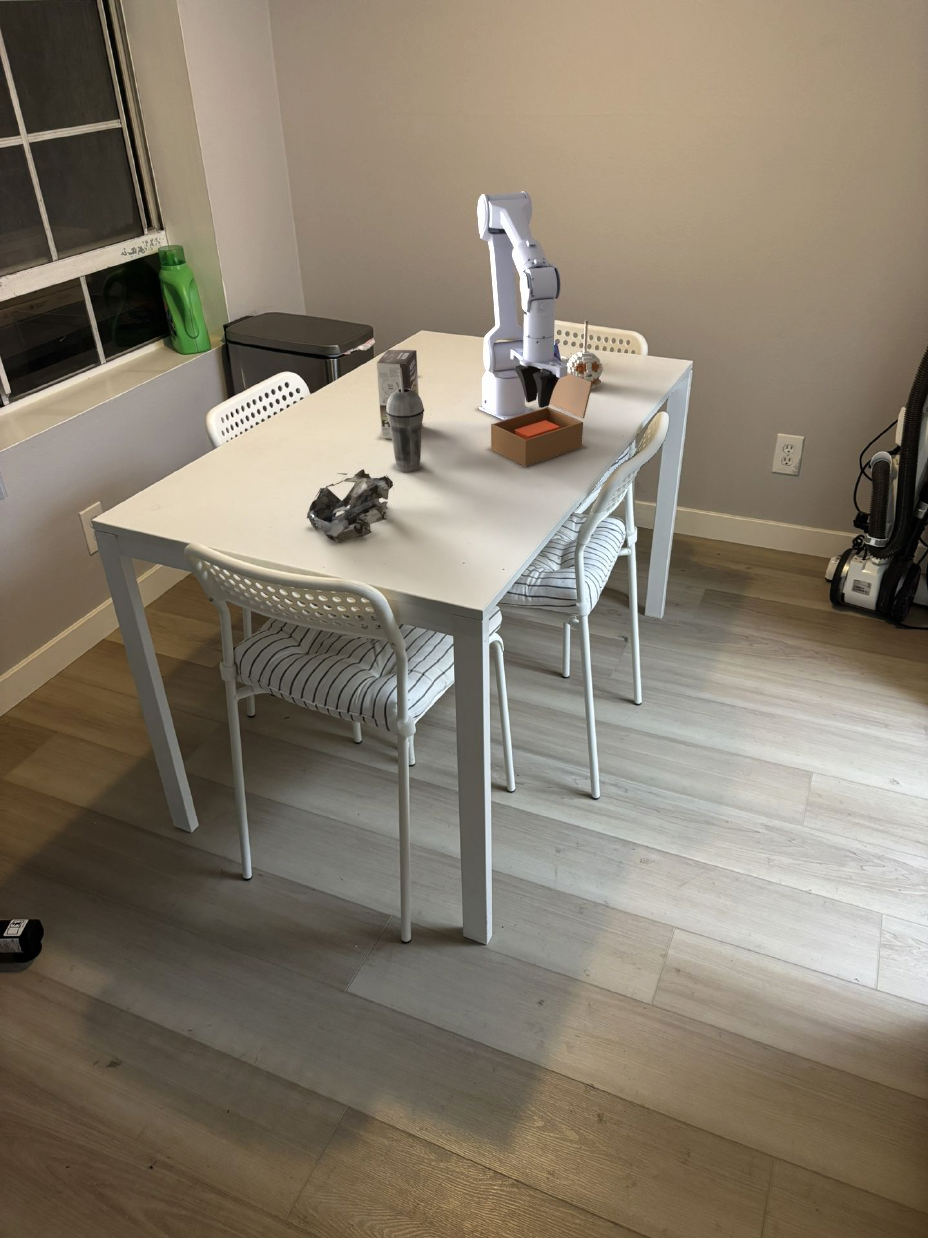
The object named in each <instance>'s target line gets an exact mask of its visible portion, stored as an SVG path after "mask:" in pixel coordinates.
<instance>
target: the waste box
mask: <svg viewBox="0 0 928 1238" xmlns="http://www.w3.org/2000/svg"><path fill="white" fill-rule="evenodd" d="M544 420H546V421H548V422H551V423H553V424H555V425H557V426H559V429H558V430H554V431H551V432H548V433H545V434H542V435H539V436H536V437H533V438H530V439H527V440H526V439H523V438H521V437H519V436H517V435H515V430H516V429H519V428H522V427H525V426H528V425H531V424H535V423H538V422H541V421H544ZM583 436H584V421H582V420H579V419H577V418H575V417H573V416H570V415H568V414H566V413H564V412H561V411H559V410H556V409H553V408H551V407H549V406H547V407H543V408H540V409H537V410H533V412H529V413H526V414H523V415H520V416H516V417H513V418H510V419H507V420H500V421H497V422H494V423H491V424H490V450H491V451H493V452H495V453H497V454H499V455H501V456H504V457H505V458H507V459H508V460H511V461H513V462H515V463H517V464H519V465H521V466H523V467H525V468H526V467H529V466H532V465H535V464H539V463H540V462H544V461H546V460H550V459H553V458H555V457H558V456H562V455H565V454H567V453H570V452H573V451H576V450H578V449H582V448H583Z"/></svg>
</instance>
